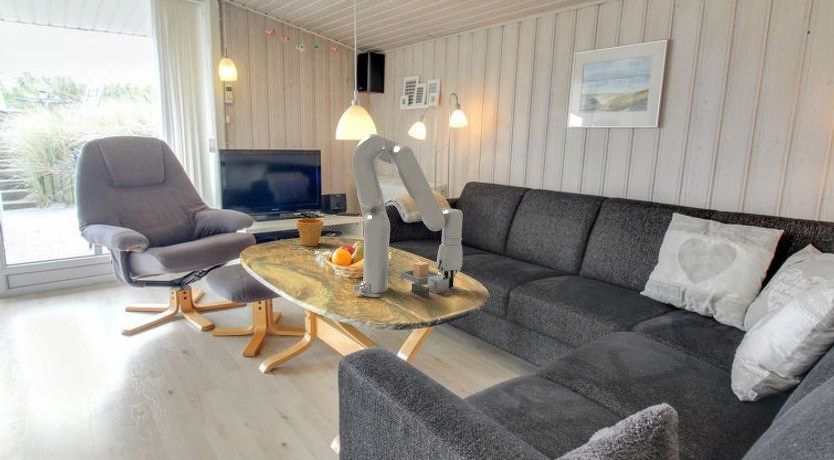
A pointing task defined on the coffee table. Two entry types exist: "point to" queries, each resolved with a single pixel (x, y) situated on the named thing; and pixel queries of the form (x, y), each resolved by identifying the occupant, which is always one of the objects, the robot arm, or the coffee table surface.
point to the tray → (410, 277)
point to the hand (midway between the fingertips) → (448, 286)
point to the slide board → (424, 293)
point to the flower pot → (309, 231)
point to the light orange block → (421, 269)
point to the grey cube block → (438, 284)
